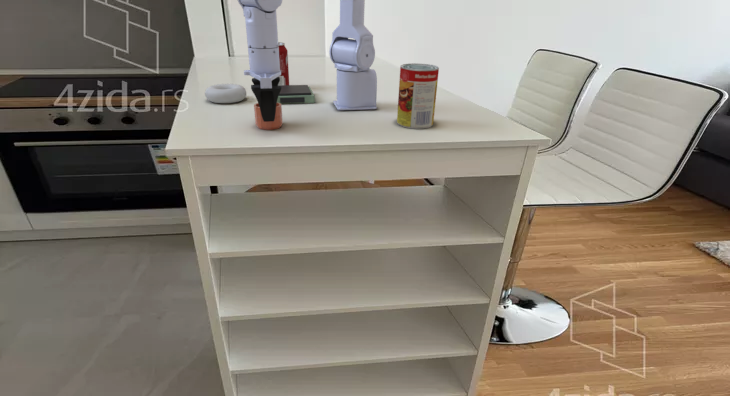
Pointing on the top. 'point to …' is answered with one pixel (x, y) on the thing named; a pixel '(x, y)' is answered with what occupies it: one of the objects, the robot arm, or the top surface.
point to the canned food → (417, 95)
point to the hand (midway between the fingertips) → (268, 116)
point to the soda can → (283, 64)
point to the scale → (295, 94)
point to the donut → (225, 93)
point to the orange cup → (270, 124)
